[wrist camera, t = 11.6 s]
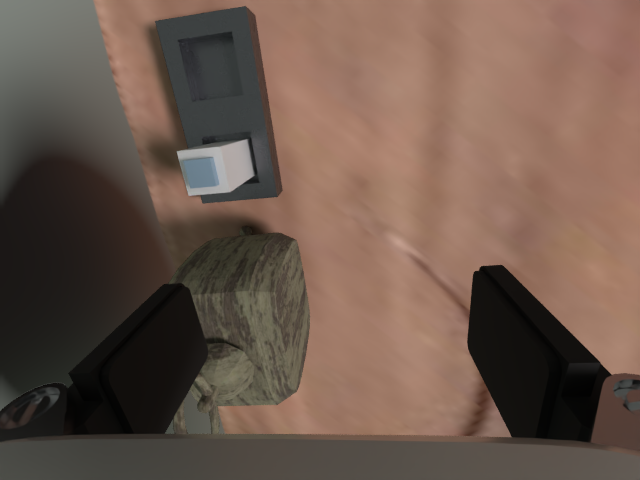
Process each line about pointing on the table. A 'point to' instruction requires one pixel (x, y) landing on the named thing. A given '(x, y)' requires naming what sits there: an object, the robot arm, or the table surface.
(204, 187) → the plug
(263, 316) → the tabletop clock
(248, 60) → the panel
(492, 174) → the table surface
